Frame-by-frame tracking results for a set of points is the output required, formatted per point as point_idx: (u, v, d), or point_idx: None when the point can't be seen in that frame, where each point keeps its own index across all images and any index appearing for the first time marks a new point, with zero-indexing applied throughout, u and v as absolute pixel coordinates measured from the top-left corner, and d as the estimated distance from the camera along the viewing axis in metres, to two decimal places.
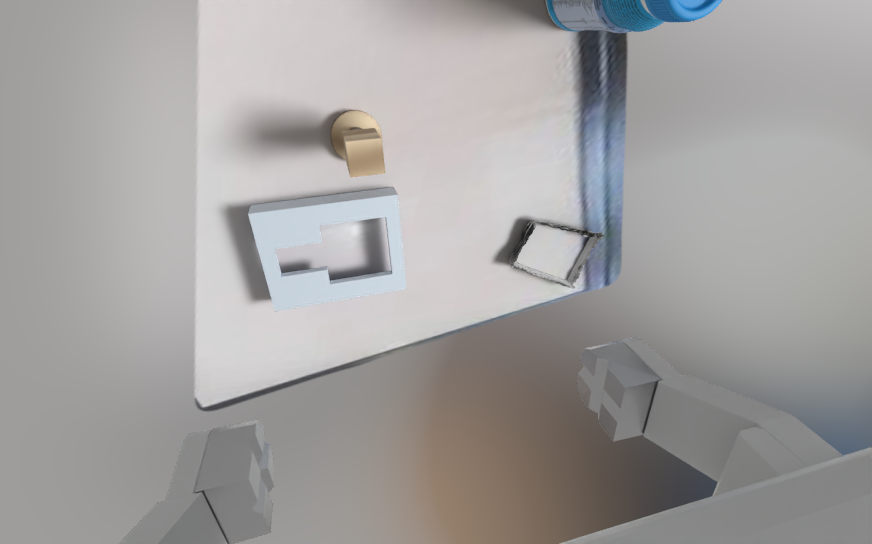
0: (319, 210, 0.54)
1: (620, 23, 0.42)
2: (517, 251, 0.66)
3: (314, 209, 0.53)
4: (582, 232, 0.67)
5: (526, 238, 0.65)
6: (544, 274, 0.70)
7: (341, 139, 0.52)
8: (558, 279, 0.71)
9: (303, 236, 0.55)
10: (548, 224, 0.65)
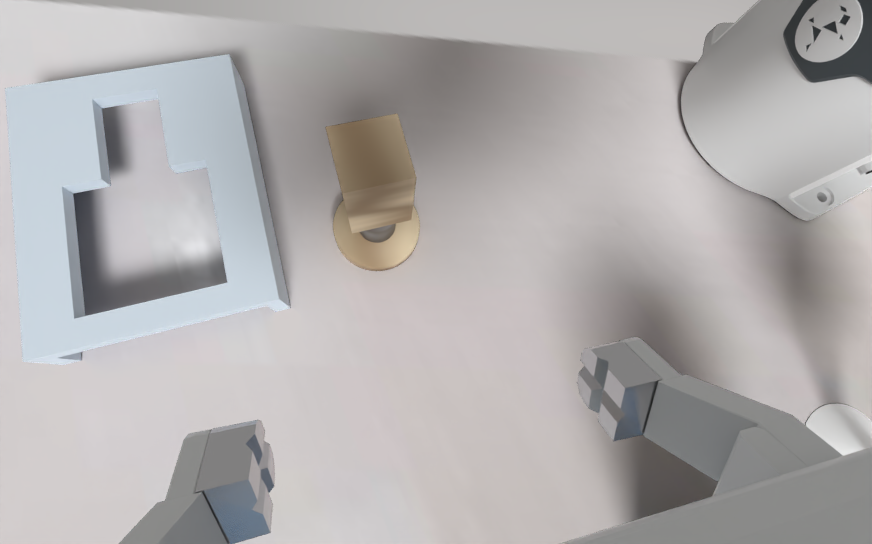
0: (238, 159, 0.29)
1: None
2: None
3: (240, 150, 0.29)
4: None
5: None
6: None
7: None
8: None
9: (183, 135, 0.29)
10: None
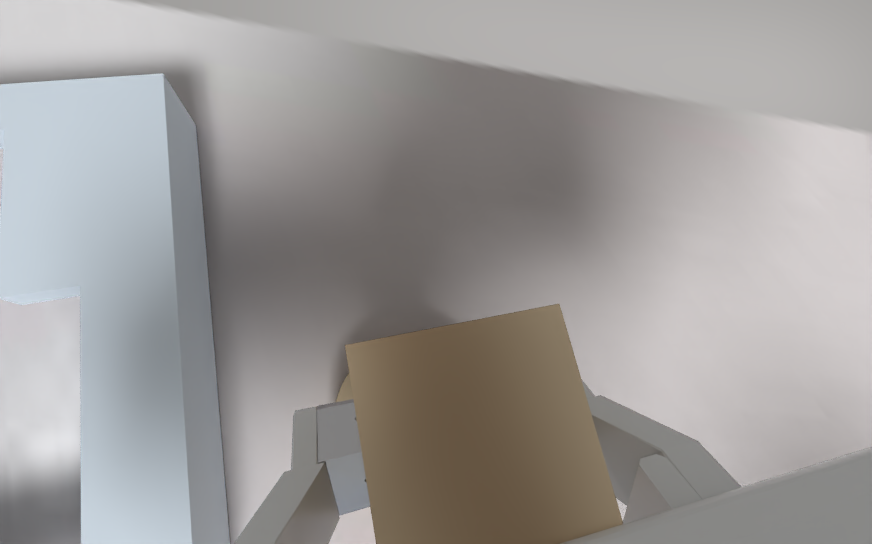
0: (151, 287, 0.14)
1: None
2: None
3: (157, 270, 0.14)
4: None
5: None
6: None
7: None
8: None
9: (41, 231, 0.14)
10: None
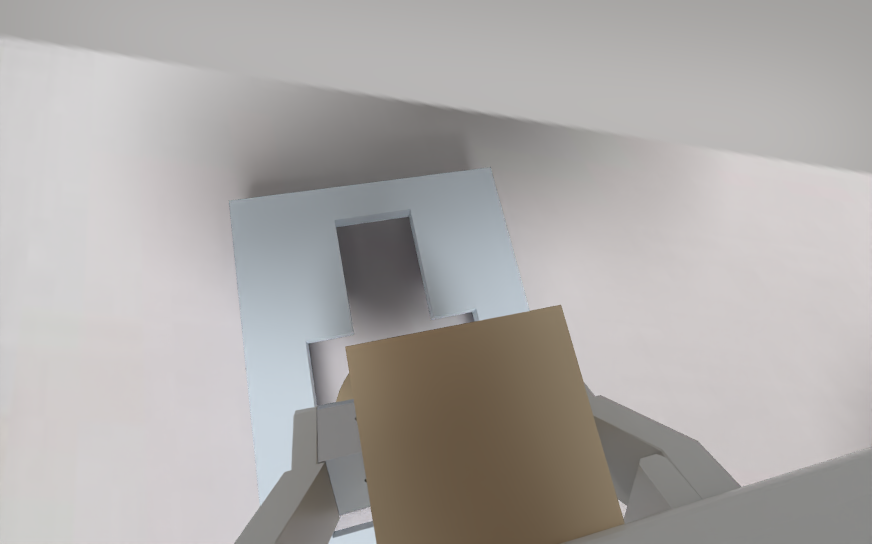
0: (515, 309, 0.23)
1: None
2: None
3: (516, 298, 0.23)
4: None
5: None
6: None
7: None
8: None
9: (447, 274, 0.23)
10: None
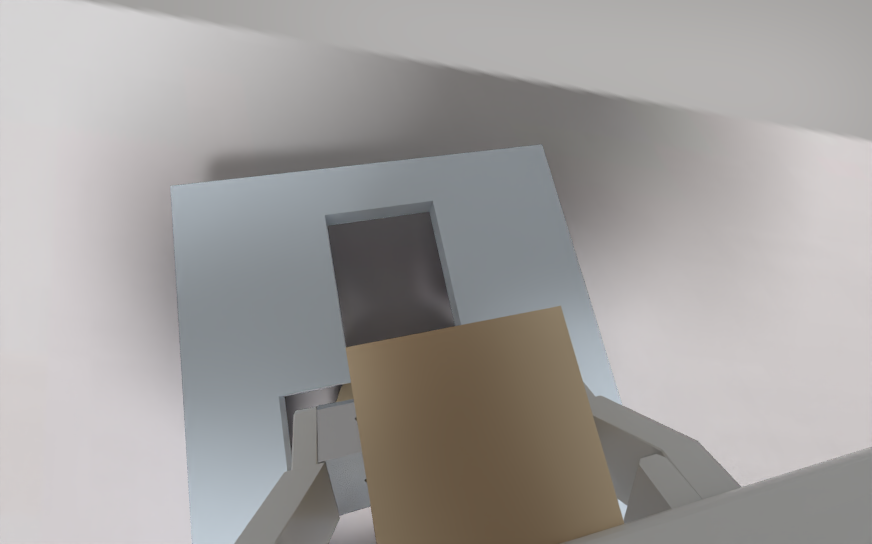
0: (584, 345, 0.16)
1: None
2: None
3: (585, 328, 0.16)
4: None
5: None
6: None
7: None
8: None
9: (486, 294, 0.16)
10: None
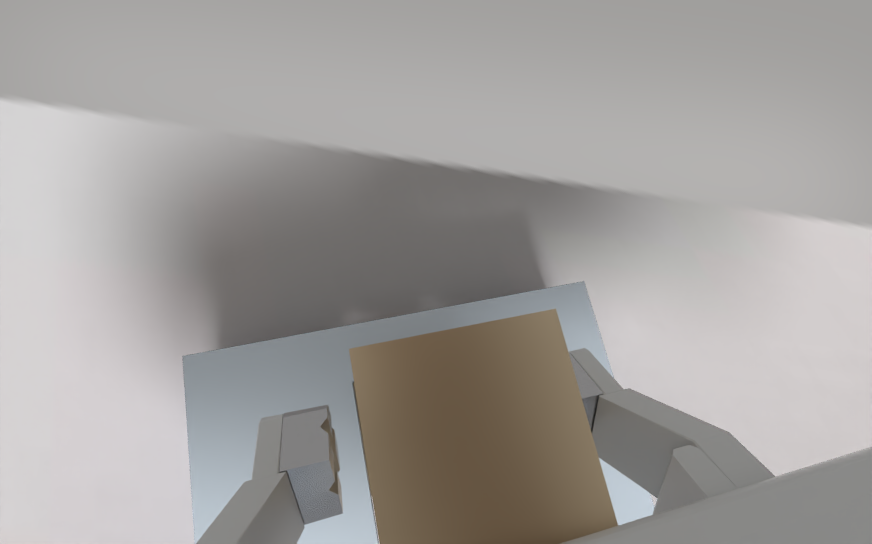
0: None
1: None
2: None
3: (637, 503, 0.14)
4: None
5: None
6: None
7: None
8: None
9: None
10: None
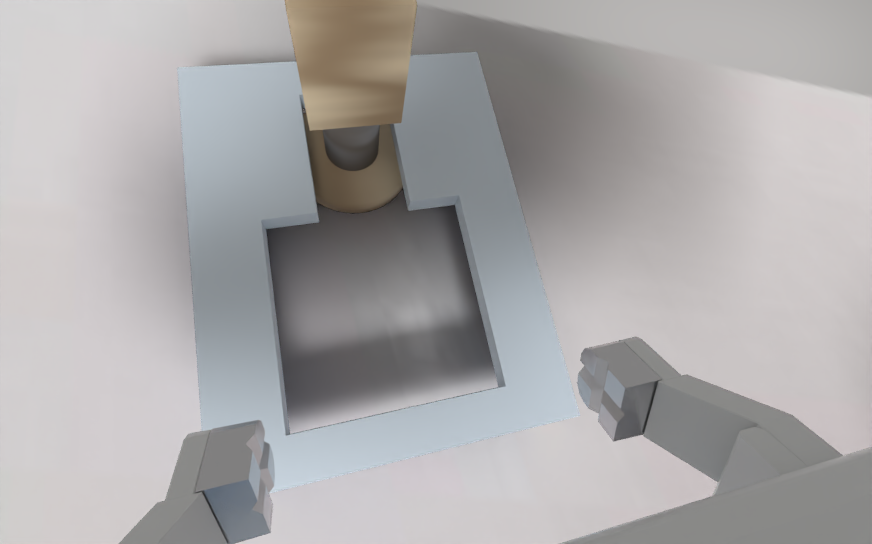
0: (503, 198, 0.20)
1: None
2: None
3: (504, 187, 0.20)
4: None
5: None
6: None
7: None
8: None
9: (426, 158, 0.20)
10: None
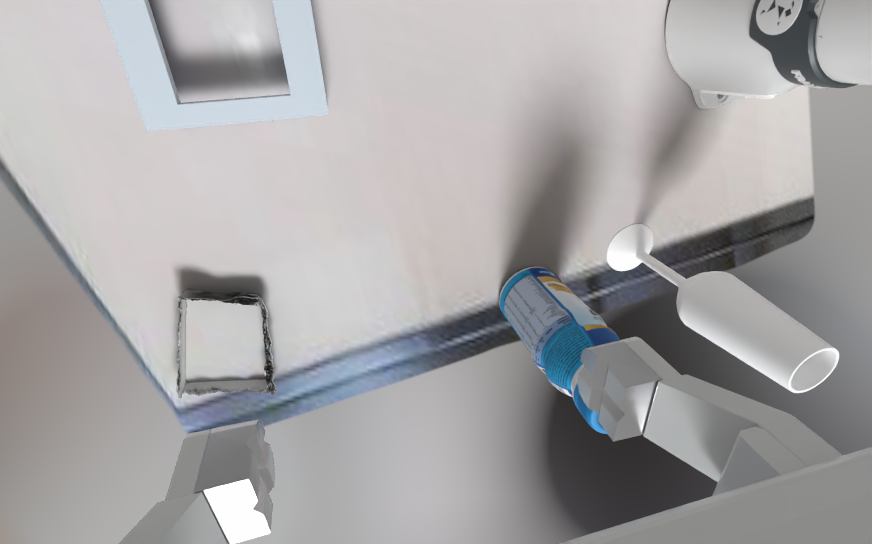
0: None
1: (556, 348, 0.42)
2: (206, 296, 0.44)
3: None
4: (268, 367, 0.49)
5: (233, 300, 0.44)
6: (184, 348, 0.47)
7: None
8: (183, 371, 0.48)
9: None
10: (265, 320, 0.46)
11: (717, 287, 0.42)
